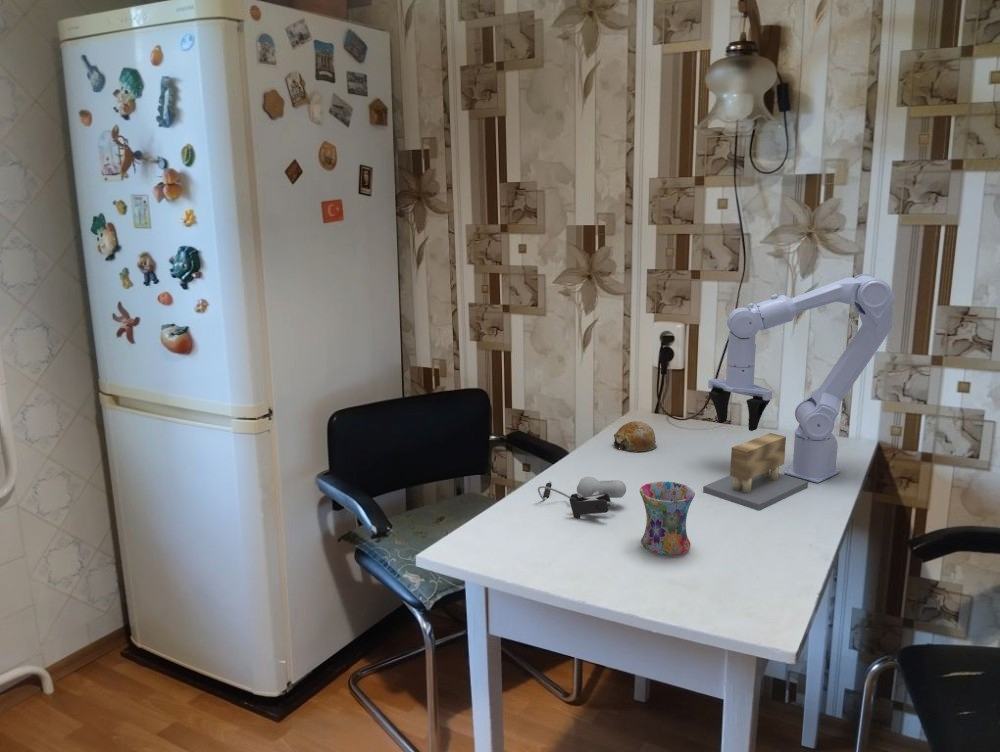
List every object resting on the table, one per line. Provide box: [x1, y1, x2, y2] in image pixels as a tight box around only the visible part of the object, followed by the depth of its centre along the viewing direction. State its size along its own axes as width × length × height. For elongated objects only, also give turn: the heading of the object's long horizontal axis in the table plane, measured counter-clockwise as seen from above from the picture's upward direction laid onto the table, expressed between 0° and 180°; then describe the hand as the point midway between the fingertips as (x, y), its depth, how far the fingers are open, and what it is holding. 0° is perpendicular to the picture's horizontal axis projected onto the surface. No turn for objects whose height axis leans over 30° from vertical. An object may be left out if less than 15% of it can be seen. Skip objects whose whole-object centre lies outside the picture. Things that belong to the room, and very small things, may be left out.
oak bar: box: [729, 432, 787, 480], centre depth 163 cm, size 14×4×6 cm, turn 130°
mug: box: [639, 480, 696, 556], centre depth 139 cm, size 12×9×11 cm
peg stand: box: [702, 466, 809, 511], centre depth 164 cm, size 18×13×4 cm
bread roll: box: [613, 420, 658, 453], centre depth 192 cm, size 10×10×8 cm
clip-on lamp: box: [537, 476, 627, 519], centre depth 158 cm, size 12×6×18 cm
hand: (737, 425), depth 172 cm, fingers open, 7 cm apart
